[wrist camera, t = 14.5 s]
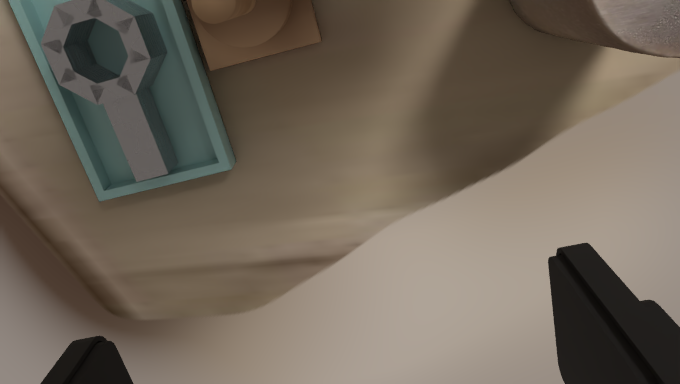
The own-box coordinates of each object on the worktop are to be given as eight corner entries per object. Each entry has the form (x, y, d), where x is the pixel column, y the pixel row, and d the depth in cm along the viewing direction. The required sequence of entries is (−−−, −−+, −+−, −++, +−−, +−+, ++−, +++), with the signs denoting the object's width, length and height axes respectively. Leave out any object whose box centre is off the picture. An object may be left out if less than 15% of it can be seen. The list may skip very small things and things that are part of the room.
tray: (1, -54, 36) (-17, -55, 34) (148, -98, 35) (137, -102, 33) (109, 192, 42) (99, 201, 40) (236, 161, 41) (231, 169, 39)
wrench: (55, 10, 37) (26, 13, 33) (142, -16, 36) (122, -15, 33) (126, 174, 41) (107, 191, 38) (205, 153, 40) (193, 169, 37)
